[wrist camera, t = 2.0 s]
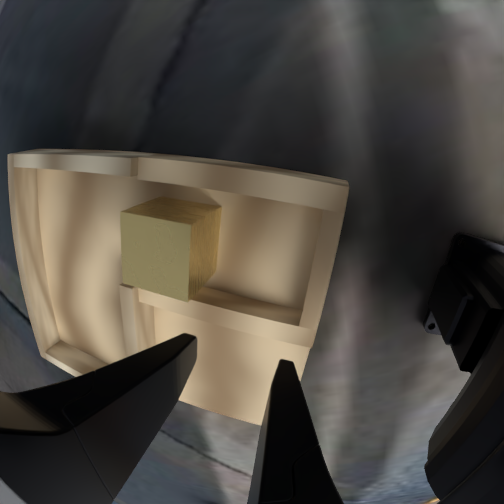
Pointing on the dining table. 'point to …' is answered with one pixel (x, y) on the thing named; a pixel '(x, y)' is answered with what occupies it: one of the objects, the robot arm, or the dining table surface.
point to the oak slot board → (162, 307)
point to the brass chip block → (170, 246)
